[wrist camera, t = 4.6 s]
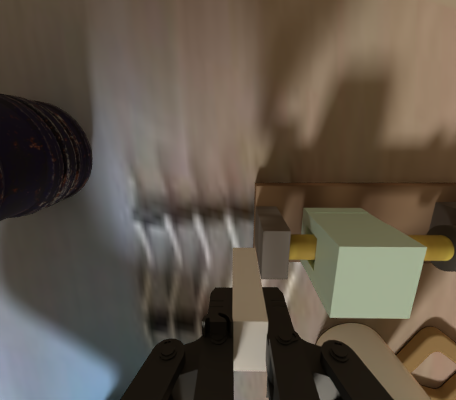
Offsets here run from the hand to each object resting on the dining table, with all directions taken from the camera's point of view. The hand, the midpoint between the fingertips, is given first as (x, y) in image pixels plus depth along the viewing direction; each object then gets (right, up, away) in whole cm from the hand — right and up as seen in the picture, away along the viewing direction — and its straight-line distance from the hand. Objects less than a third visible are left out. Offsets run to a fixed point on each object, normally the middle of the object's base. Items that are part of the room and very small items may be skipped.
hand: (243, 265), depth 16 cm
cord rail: (+12, +2, +8) cm, 14 cm away
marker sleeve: (+8, +1, +5) cm, 10 cm away
